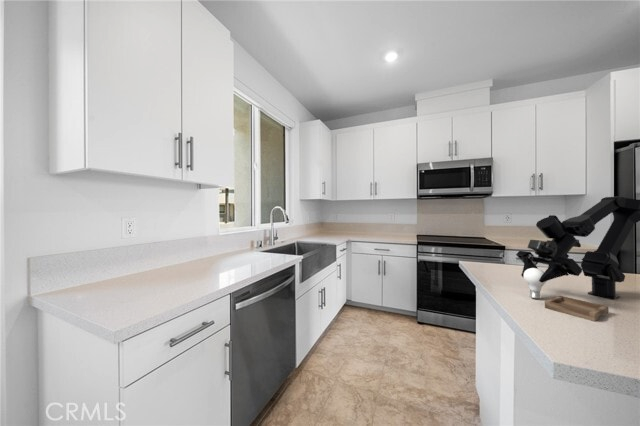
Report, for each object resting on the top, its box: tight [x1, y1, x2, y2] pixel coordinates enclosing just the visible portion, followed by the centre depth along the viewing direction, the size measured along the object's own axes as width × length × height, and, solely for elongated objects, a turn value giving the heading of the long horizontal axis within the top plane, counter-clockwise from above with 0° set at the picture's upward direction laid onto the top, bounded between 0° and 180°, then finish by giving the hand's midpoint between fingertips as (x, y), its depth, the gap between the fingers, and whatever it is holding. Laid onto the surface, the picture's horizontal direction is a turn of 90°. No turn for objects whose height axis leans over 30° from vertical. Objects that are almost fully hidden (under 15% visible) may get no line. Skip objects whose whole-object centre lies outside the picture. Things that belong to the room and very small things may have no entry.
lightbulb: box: [522, 267, 547, 300], centre depth 86 cm, size 6×6×11 cm
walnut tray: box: [544, 295, 610, 322], centre depth 75 cm, size 11×11×2 cm
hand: (531, 279), depth 86 cm, fingers closed on lightbulb, 6 cm apart
